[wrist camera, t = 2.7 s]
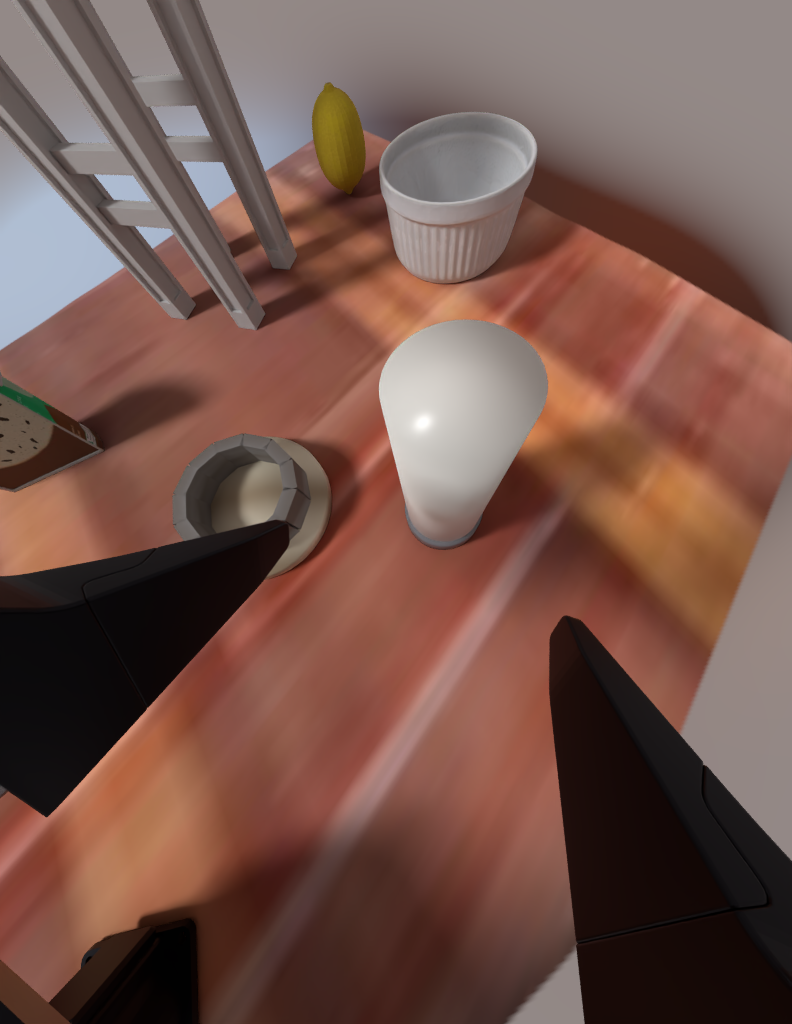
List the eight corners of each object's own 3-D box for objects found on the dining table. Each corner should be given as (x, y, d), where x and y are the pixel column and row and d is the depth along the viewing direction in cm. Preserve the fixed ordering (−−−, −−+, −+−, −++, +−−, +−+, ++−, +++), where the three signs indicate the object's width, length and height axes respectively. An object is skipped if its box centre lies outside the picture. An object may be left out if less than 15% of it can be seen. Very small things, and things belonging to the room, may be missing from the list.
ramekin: (512, 203, 32) (533, 99, 25) (518, 290, 28) (545, 194, 21) (393, 215, 33) (384, 120, 27) (384, 299, 30) (371, 212, 23)
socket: (345, 556, 22) (329, 547, 18) (197, 599, 22) (153, 599, 19) (318, 427, 26) (300, 400, 22) (192, 466, 26) (154, 445, 22)
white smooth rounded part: (489, 538, 21) (589, 429, 8) (418, 558, 21) (398, 486, 8) (464, 474, 23) (512, 295, 9) (399, 493, 23) (356, 344, 10)
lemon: (346, 214, 34) (322, 104, 27) (319, 197, 36) (289, 89, 28) (380, 190, 35) (366, 76, 27) (353, 174, 37) (332, 63, 29)
